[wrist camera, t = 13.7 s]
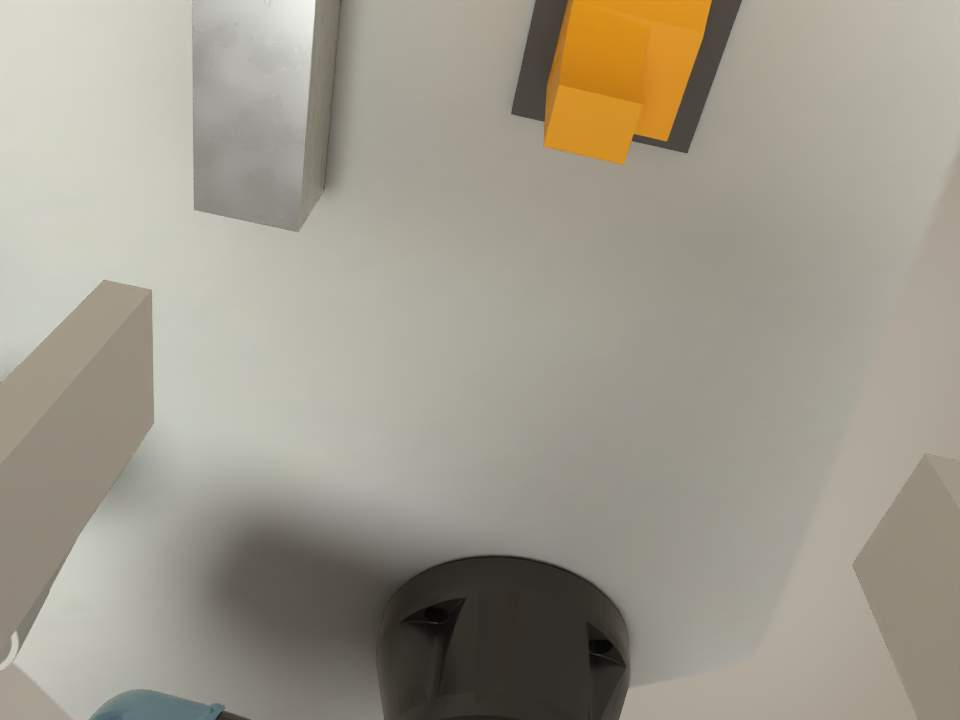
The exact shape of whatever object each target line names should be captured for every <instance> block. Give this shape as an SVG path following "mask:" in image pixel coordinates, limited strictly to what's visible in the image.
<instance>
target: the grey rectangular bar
mask: <svg viewBox="0 0 960 720" xmlns="http://www.w3.org/2000/svg"><path fill="white" fill-rule="evenodd" d="M340 5H341V0H192V29H193V145H194V210H198V211H202V212H207V213H212V214H216V215H221V216H226V217H230V218H235V219H240V220H244V221H249V222H254V223H258V224H263V225H268V226H272V227H277V228H282V229H286V230H291V231H296V232H299V231H300V229H301V227H302V226H303V224H304V222H305V221H306V219H307V217H308V216H309V214H310V212H311V211H312V209H313V207H314V206H315V204H316V203H317V201H318V199H319V198H320V196H321V194H322V193H323V191H324V183H325V171H326V160H327V149H328V138H329V127H330V116H331V105H332V94H333V83H334V71H335V60H336V49H337V38H338V27H339V16H340Z"/></svg>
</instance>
